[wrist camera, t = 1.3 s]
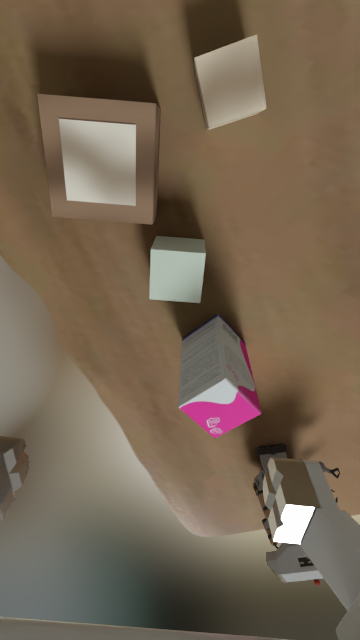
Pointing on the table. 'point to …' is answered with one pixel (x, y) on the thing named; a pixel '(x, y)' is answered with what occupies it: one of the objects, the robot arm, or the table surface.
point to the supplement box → (216, 378)
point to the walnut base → (101, 157)
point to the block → (230, 82)
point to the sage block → (177, 269)
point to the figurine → (289, 556)
